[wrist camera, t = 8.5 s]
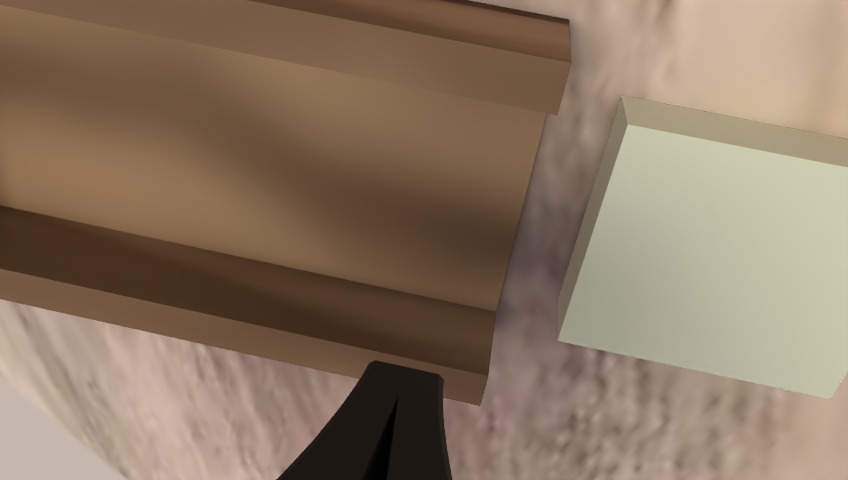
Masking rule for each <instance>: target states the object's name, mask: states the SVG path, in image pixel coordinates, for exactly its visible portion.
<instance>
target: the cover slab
mask: <svg viewBox="0 0 848 480" xmlns="http://www.w3.org/2000/svg"><path fill="white" fill-rule="evenodd" d="M557 341H560V342H565V343H570V344H574V345H579V346H584V347H588V348H593V349H598V350H602V351H607V352H612V353H616V354H621V355H626V356H630V357H635V358H640V359H644V360H649V361H654V362H658V363H663V364H668V365H672V366H677V367H682V368H686V369H691V370H696V371H700V372H705V373H709V374H714V375H719V376H723V377H728V378H733V379H737V380H742V381H747V382H751V383H756V384H761V385H765V386H770V387H775V388H779V389H784V390H789V391H793V392H798V393H803V394H807V395H812V396H817V397H821V398H826V399H831V397H832V396H833V394H834V393H835V391H836V389H837V388H838V386H839V385H840V383H841V382H842V380H843V379H844V377H845V375H846V374H847V372H848V139H843V138H838V137H833V136H828V135H823V134H818V133H812V132H807V131H802V130H797V129H792V128H787V127H782V126H776V125H771V124H766V123H761V122H756V121H751V120H746V119H741V118H735V117H730V116H725V115H720V114H715V113H710V112H705V111H699V110H694V109H689V108H684V107H679V106H674V105H669V104H663V103H658V102H653V101H648V100H643V99H638V98H633V97H627V96H621V99H620V102H619V105H618V109H617V112H616V115H615V118H614V121H613V125H612V128H611V131H610V134H609V137H608V141H607V144H606V147H605V150H604V153H603V157H602V160H601V163H600V166H599V169H598V173H597V176H596V179H595V182H594V185H593V189H592V192H591V195H590V198H589V201H588V205H587V208H586V211H585V214H584V217H583V221H582V224H581V227H580V230H579V233H578V237H577V240H576V243H575V246H574V249H573V253H572V256H571V259H570V262H569V265H568V269H567V272H566V275H565V278H564V281H563V285H562V288H561V291H560V294H559V297H558V301H557Z"/></svg>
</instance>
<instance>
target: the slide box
mask: <svg viewBox="0 0 848 480" xmlns="http://www.w3.org/2000/svg"><path fill="white" fill-rule="evenodd" d="M570 66H571V50H570V29H569V20H567V19H562V18H557V17H552V16H546V15H541V14H536V13H531V12H525V11H520V10H515V9H510V8H504V7H499V6H494V5H489V4H483V3H478V2H473V1H468V0H0V299H3V300H7V301H12V302H16V303H21V304H25V305H30V306H34V307H39V308H43V309H48V310H52V311H57V312H61V313H66V314H70V315H75V316H79V317H84V318H88V319H93V320H97V321H102V322H106V323H111V324H115V325H120V326H124V327H129V328H133V329H138V330H142V331H147V332H151V333H155V334H160V335H164V336H169V337H173V338H178V339H182V340H187V341H191V342H196V343H200V344H205V345H209V346H214V347H218V348H223V349H227V350H232V351H236V352H241V353H245V354H250V355H254V356H259V357H263V358H268V359H272V360H277V361H281V362H286V363H290V364H295V365H299V366H304V367H308V368H313V369H317V370H322V371H326V372H331V373H335V374H340V375H344V376H349V377H353V378H358V379H360V378H361V376H362V375H363V373H364V371H365V369H366V368H367V366H368V364H369V363H370V362H372V361H374V360H378V361H382V362H387V363H391V364H396V365H400V366H405V367H409V368H414V369H418V370H423V371H427V372H432V373H436V374H440V376H441V377H442V378H443V379H444V385H443V398H447V399H452V400H456V401H461V402H465V403H470V404H474V405H479V406H480V405H481V401H482V397H483V394H484V390H485V386H486V382H487V379H488V373H489V365H490V357H491V348H492V340H493V332H494V324H495V315H496V309H497V306H498V302H499V298H500V294H501V290H502V286H503V282H504V278H505V274H506V270H507V267H508V263H509V259H510V255H511V251H512V247H513V243H514V239H515V235H516V231H517V227H518V224H519V220H520V216H521V212H522V208H523V204H524V200H525V196H526V192H527V188H528V184H529V181H530V177H531V173H532V169H533V165H534V161H535V157H536V153H537V149H538V145H539V141H540V138H541V134H542V130H543V126H544V122H545V118H546V114H547V113H549V114H554V115H558V111H559V107H560V103H561V100H562V96H563V92H564V88H565V84H566V81H567V77H568V73H569V69H570Z"/></svg>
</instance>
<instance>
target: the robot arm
mask: <svg viewBox="0 0 848 480" xmlns="http://www.w3.org/2000/svg"><path fill="white" fill-rule="evenodd" d="M443 385H444V379H443V378H442V377H441V376H440V374H436V373H432V372H427V371H423V370H418V369H414V368H409V367H405V366H400V365H396V364H391V363H387V362H382V361H378V360H374V361H372V362H370V363H369V364H368V366H367V368H366V369H365V371H364V373H363V375H362V376H361V378H360V380H359V381H358V383H357V384H356V386H355V387H354V389H353V390H352V392H351V393H350V395H349V396H348V397H347V399H346V400H345V401H344V403H343V404H342V405H341V407H340V408H339V409H338V411H337V412H336V413H335V414H334V416H333V417H332V418H331V419H330V421H329V422H328V423H327V424H326V426H325V427H324V428H323V429H322V430H321V432H320V433H319V434H318V435H317V437H316V438H315V439H314V440H313V441H312V442H311V443H310V445H309V446H308V447H307V448H306V449H305V450H304V451H303V452H302V453H301V454H300V455H299V456H298V458H297V459H296V460H295V461H294V462H293V463H292V464H291V465H290V466H289V467H288V468H287V469H286V470H285V471H284V473H283V474H282V475H281V476H280V477H279V478H278V479H277V480H452V475H451V469H450V464H449V458H448V452H447V445H446V438H445V429H444V418H443Z"/></svg>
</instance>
